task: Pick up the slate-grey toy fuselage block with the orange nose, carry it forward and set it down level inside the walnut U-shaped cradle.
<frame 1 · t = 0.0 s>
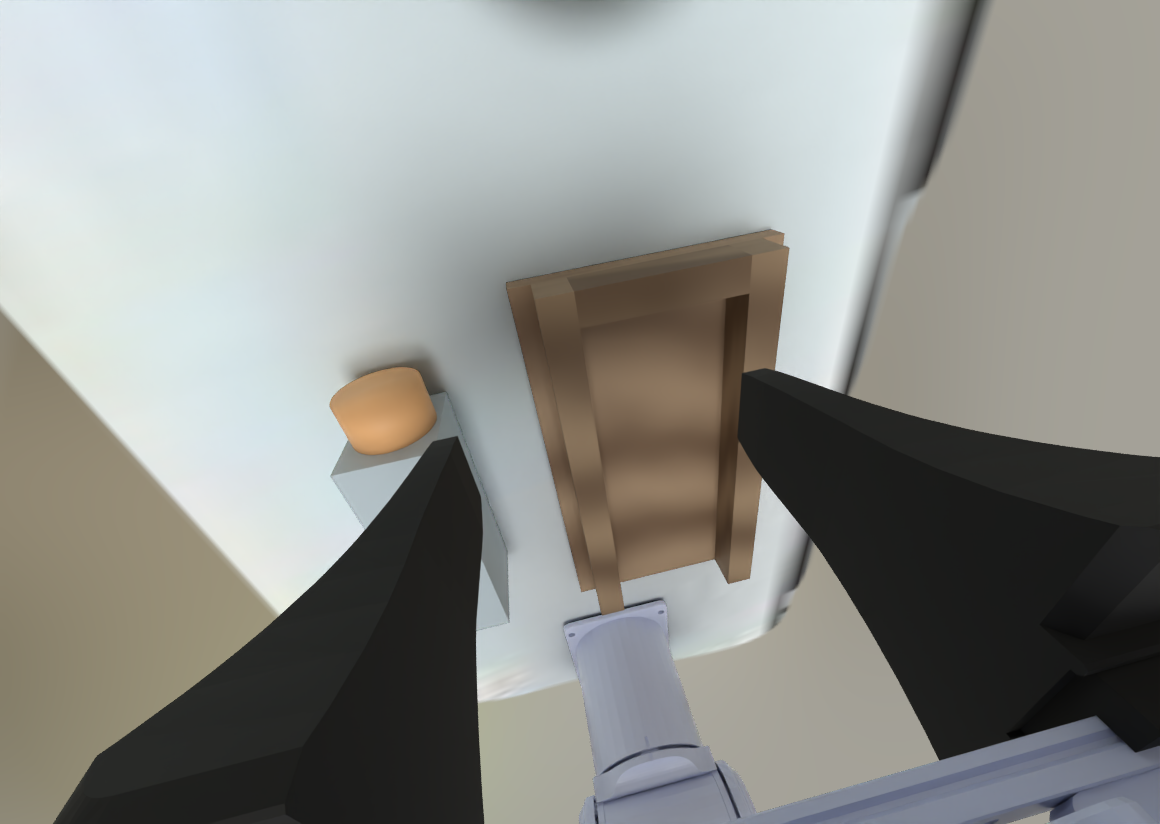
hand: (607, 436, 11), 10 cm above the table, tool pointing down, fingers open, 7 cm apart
fuselage: (445, 488, 24), on the table
cradle: (653, 443, 24), on the table
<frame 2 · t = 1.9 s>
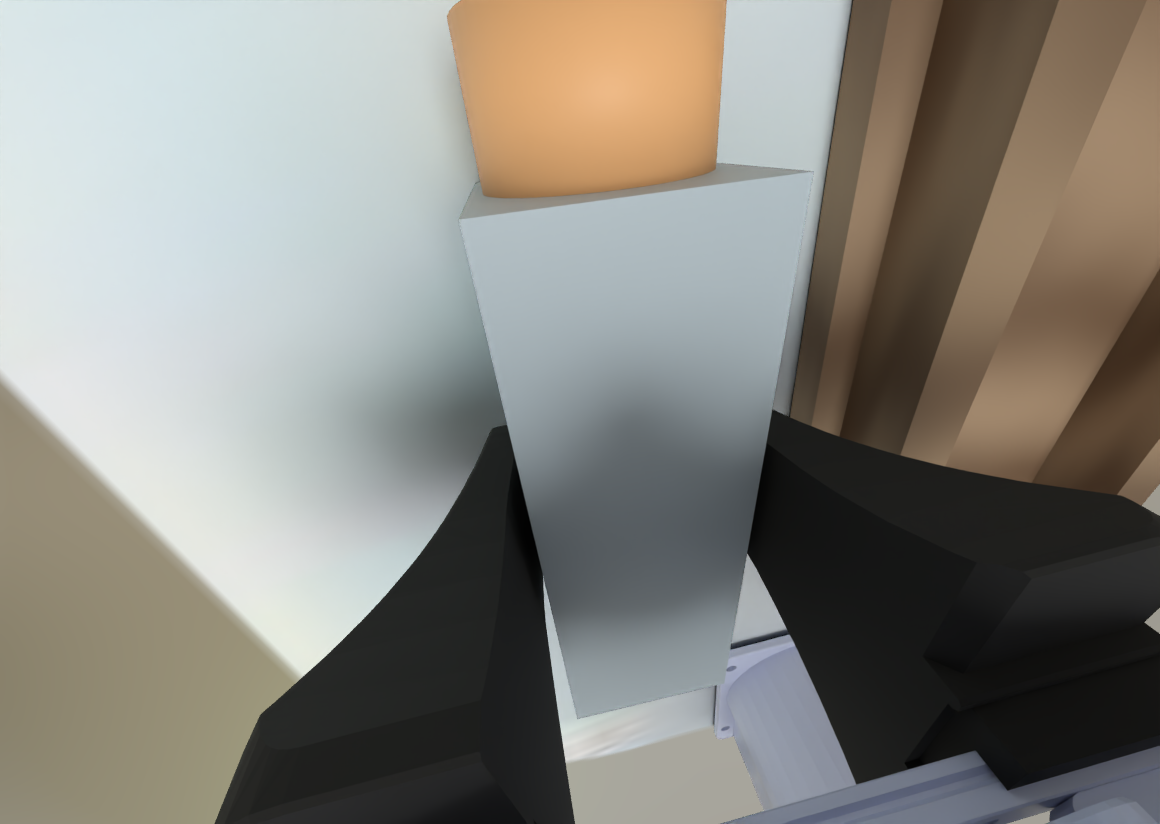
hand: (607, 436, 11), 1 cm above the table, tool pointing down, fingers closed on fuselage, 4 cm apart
fuselage: (595, 411, 12), on the table, touching gripper
cradle: (988, 320, 13), on the table
when the fingers open (8 cm above the table, at t = 3.9 s): fuselage drops 3 cm, resting on cradle.
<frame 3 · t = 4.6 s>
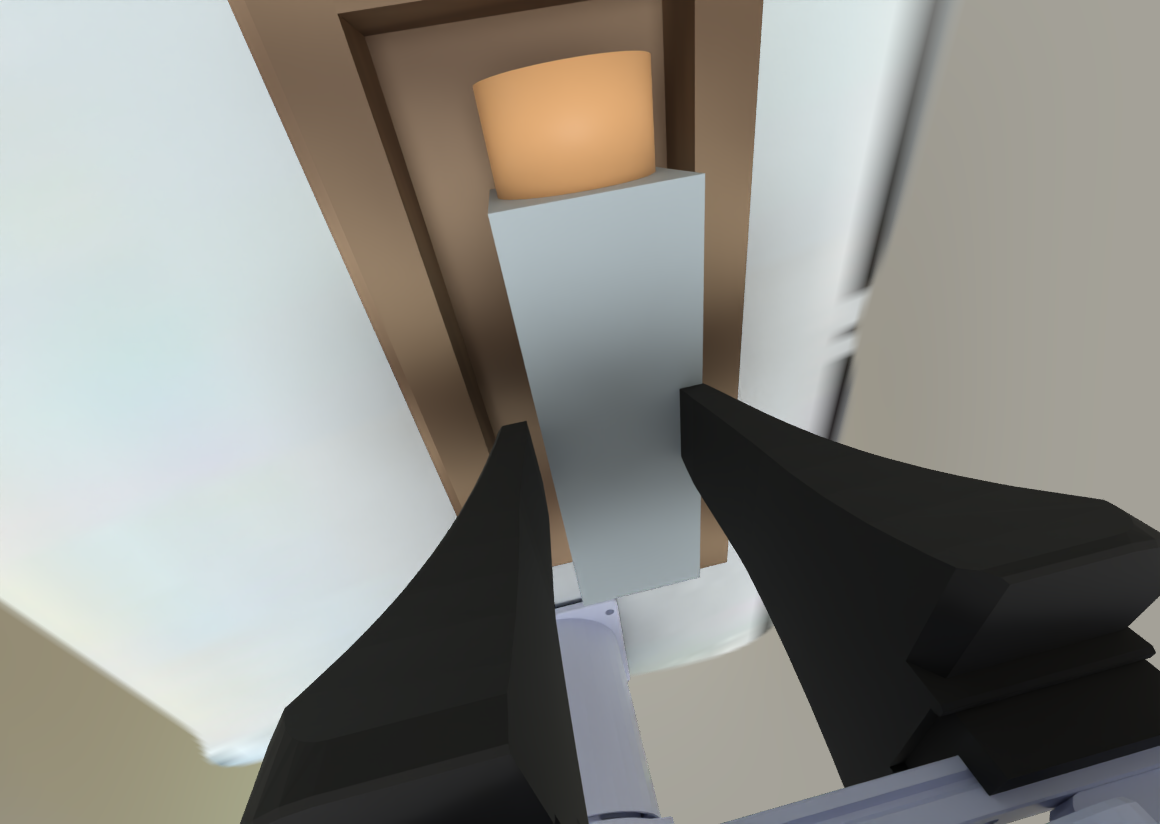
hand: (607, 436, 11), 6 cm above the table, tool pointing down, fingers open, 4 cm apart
fuselage: (589, 367, 15), point 1 cm above the table, touching cradle, gripper
cradle: (571, 347, 16), on the table
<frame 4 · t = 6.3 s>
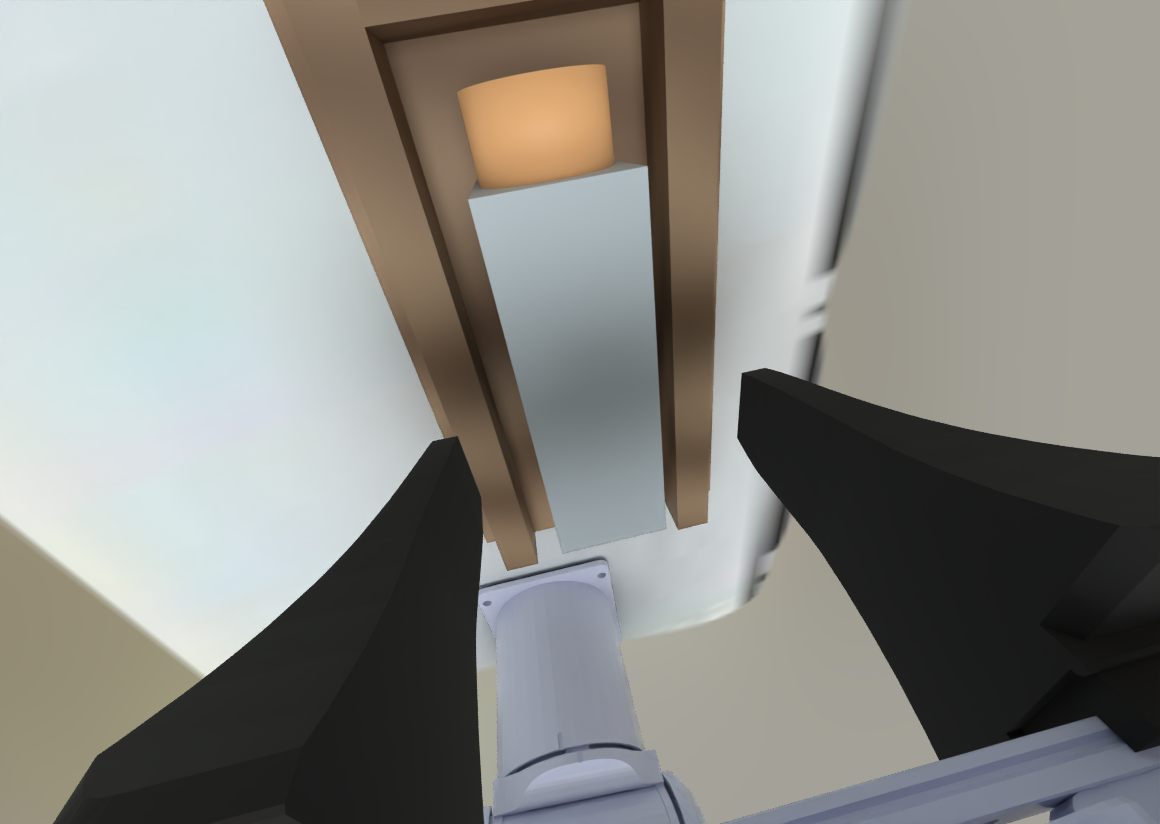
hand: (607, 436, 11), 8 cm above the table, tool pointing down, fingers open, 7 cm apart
fuselage: (569, 342, 17), point 1 cm above the table, touching cradle
cradle: (564, 321, 17), on the table
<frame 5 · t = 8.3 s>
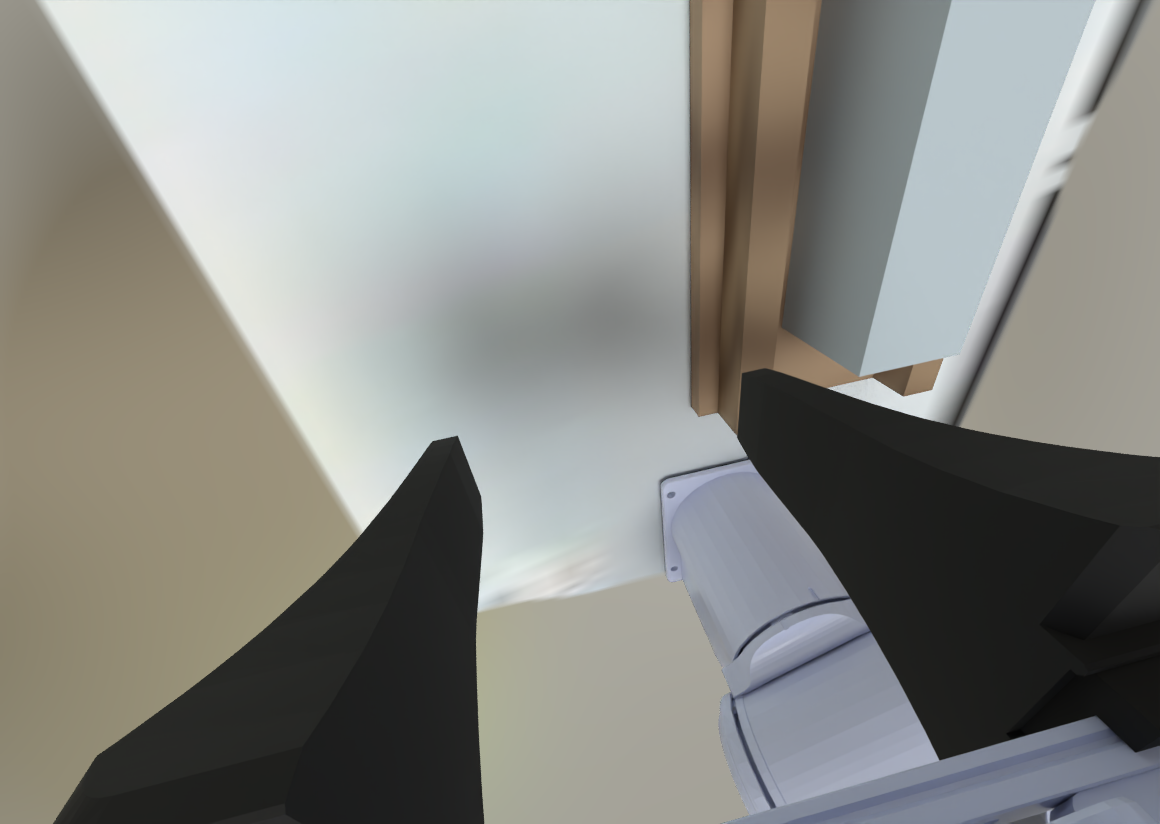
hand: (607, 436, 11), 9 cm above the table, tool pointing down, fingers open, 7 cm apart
fuselage: (848, 173, 17), point 1 cm above the table, touching cradle
cradle: (833, 158, 17), on the table
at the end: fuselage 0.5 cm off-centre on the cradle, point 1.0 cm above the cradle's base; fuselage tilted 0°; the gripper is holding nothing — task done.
